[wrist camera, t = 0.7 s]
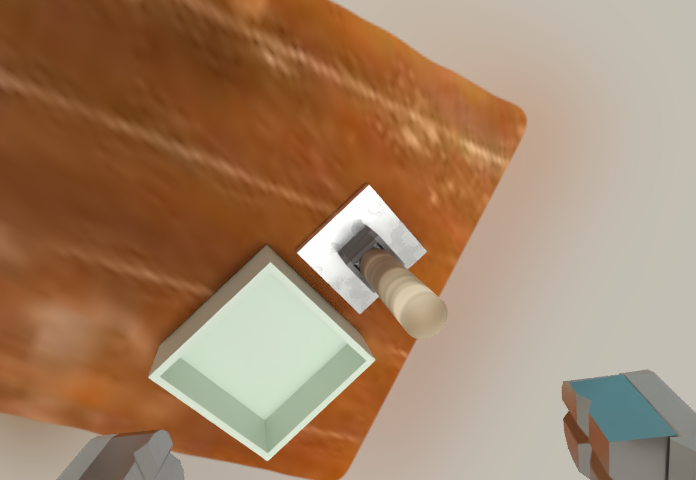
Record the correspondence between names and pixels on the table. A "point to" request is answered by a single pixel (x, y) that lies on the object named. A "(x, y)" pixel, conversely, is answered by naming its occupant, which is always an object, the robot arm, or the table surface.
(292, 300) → the bin
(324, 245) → the stud plate
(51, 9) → the table surface
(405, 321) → the strut
